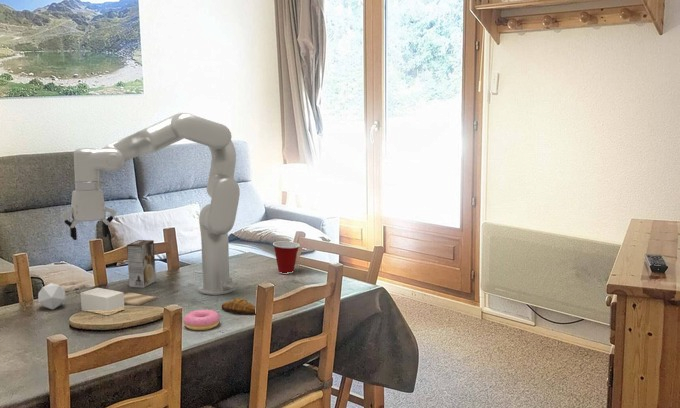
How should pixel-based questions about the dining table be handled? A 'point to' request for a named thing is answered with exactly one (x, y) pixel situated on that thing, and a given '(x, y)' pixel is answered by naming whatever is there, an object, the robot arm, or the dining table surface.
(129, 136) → the robot arm
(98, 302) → the white rounded block
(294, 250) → the plastic cup
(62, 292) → the die
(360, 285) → the dining table surface
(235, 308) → the croissant
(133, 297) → the tan flat pointed slab
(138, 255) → the coffee box
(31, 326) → the dining table surface
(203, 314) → the doughnut
